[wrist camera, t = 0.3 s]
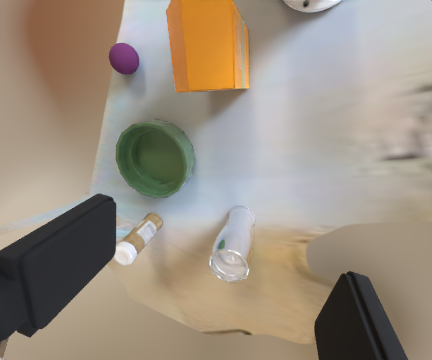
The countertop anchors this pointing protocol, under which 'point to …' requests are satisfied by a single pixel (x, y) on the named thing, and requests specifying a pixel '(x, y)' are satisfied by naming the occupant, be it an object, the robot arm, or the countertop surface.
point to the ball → (124, 58)
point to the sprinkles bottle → (137, 239)
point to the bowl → (155, 158)
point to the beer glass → (234, 247)
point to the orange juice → (208, 45)
